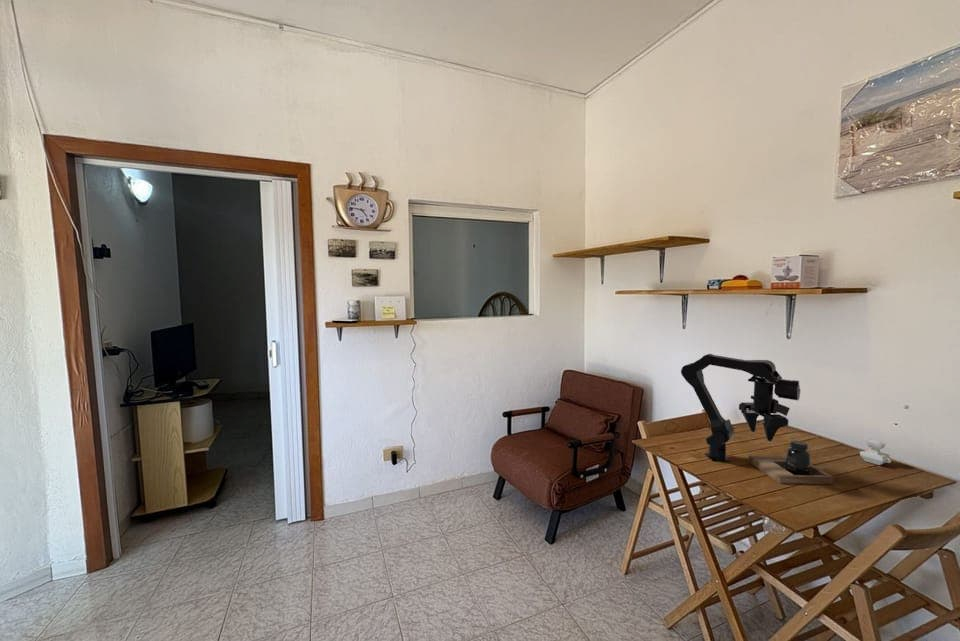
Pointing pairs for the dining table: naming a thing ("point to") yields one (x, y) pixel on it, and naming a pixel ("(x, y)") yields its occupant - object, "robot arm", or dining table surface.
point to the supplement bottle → (798, 458)
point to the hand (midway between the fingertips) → (760, 436)
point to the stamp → (875, 453)
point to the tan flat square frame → (776, 471)
